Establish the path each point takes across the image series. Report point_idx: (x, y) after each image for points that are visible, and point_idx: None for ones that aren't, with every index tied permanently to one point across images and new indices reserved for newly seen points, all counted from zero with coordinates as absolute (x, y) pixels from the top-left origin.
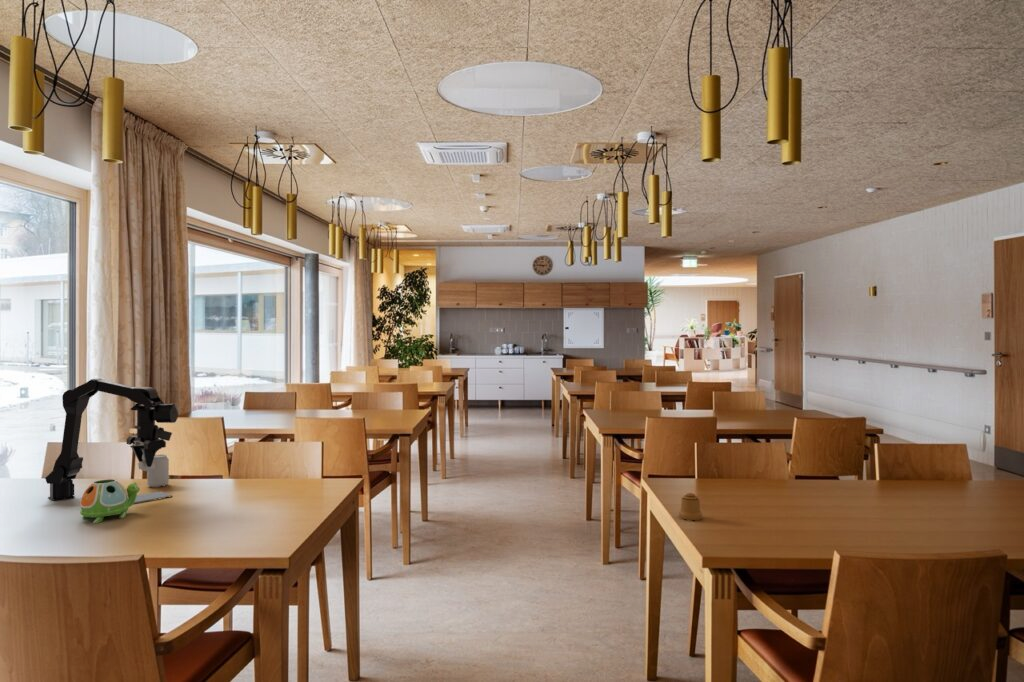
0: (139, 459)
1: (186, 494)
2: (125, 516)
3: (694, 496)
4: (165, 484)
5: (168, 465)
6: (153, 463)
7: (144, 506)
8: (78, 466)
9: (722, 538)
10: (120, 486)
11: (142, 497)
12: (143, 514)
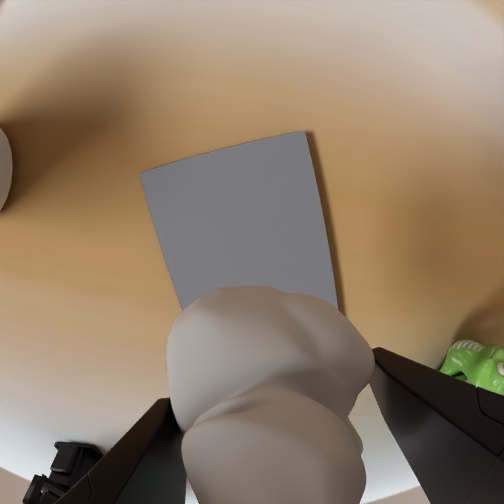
0: (185, 483)
1: (278, 55)
2: (482, 344)
3: None
4: (6, 137)
5: None
6: (356, 335)
7: (410, 286)
8: None
9: None
10: None
11: (253, 280)
12: (493, 297)
